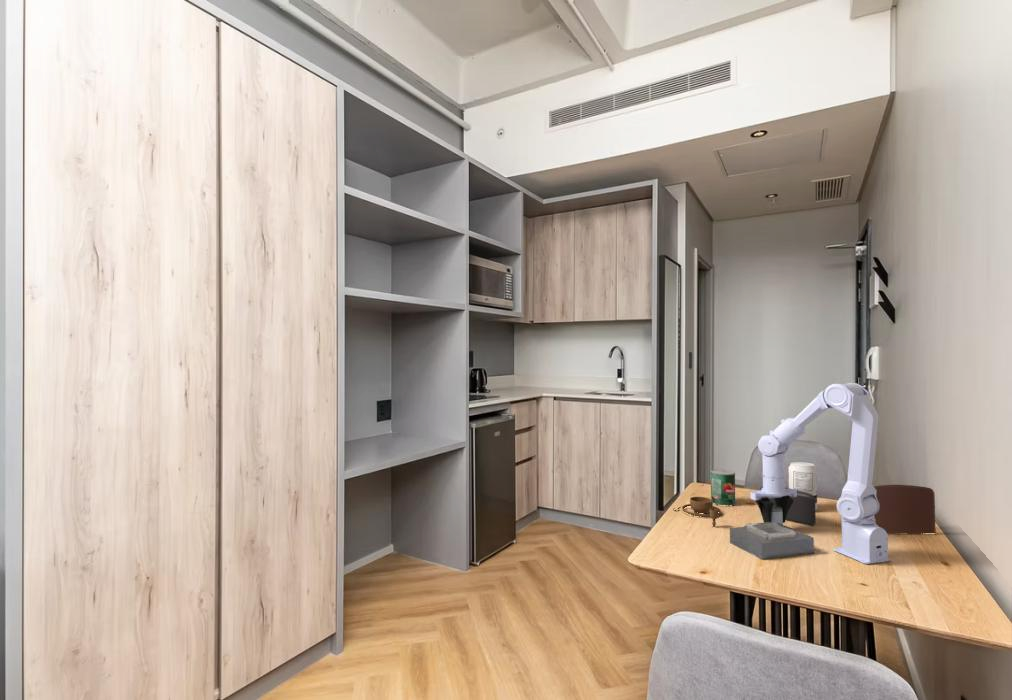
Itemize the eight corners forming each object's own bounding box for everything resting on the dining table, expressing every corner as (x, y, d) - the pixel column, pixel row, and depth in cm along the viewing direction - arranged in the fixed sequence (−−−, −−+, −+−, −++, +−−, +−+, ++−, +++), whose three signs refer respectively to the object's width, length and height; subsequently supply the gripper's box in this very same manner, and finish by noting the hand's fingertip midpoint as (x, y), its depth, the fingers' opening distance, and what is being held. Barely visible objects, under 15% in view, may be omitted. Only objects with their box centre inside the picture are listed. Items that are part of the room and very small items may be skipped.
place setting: (734, 514, 167) (734, 496, 167) (719, 531, 151) (719, 511, 151) (680, 505, 177) (680, 488, 178) (661, 520, 161) (661, 502, 161)
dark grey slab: (820, 524, 155) (819, 493, 156) (814, 527, 153) (813, 495, 153) (765, 511, 168) (765, 483, 168) (759, 514, 165) (758, 485, 165)
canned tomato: (733, 507, 173) (733, 475, 173) (709, 504, 177) (708, 472, 177) (737, 502, 179) (736, 470, 180) (713, 498, 183) (712, 468, 184)
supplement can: (783, 506, 173) (782, 462, 173) (802, 504, 176) (801, 460, 176) (803, 513, 166) (803, 467, 166) (823, 511, 168) (822, 465, 168)
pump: (786, 529, 148) (786, 508, 148) (773, 530, 147) (773, 509, 147) (774, 524, 153) (774, 504, 153) (762, 525, 151) (762, 505, 152)
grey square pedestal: (813, 553, 133) (813, 532, 133) (761, 559, 129) (761, 538, 129) (768, 532, 148) (767, 514, 148) (720, 537, 144) (720, 519, 144)
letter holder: (936, 535, 146) (935, 485, 146) (864, 534, 147) (863, 485, 147) (910, 524, 156) (910, 477, 156) (843, 523, 157) (842, 477, 157)
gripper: (783, 471, 156) (784, 516, 156) (742, 474, 152) (743, 520, 152) (802, 476, 149) (803, 523, 149) (760, 480, 145) (761, 528, 145)
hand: (774, 522), depth 150 cm, fingers closed on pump, 4 cm apart
